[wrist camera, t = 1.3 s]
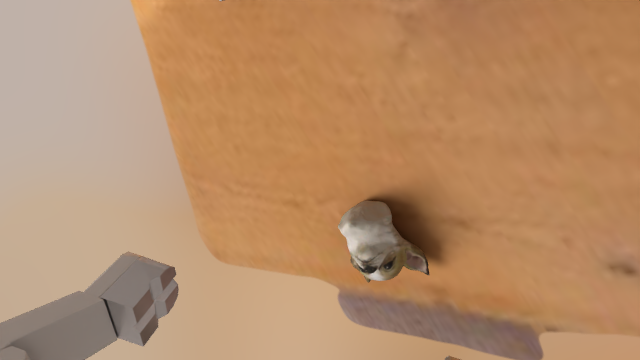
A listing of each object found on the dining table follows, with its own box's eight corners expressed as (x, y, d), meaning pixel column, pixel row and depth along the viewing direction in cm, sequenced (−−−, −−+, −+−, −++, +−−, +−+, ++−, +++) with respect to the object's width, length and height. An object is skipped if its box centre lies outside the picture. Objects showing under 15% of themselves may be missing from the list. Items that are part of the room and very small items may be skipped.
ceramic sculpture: (389, 223, 40) (433, 309, 46) (397, 178, 47) (434, 258, 53) (308, 239, 45) (357, 315, 51) (325, 196, 52) (367, 268, 58)
